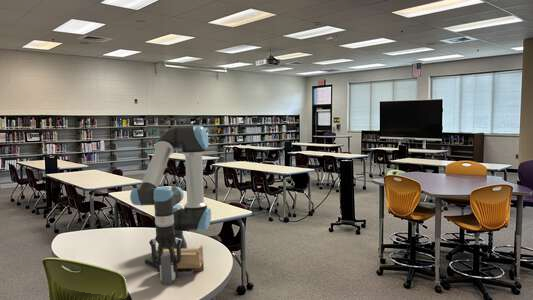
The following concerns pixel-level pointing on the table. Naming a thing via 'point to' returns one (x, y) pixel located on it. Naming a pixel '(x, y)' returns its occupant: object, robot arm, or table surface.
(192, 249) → the cabinet
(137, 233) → the table surface
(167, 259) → the grey rectangular block
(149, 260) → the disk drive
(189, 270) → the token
